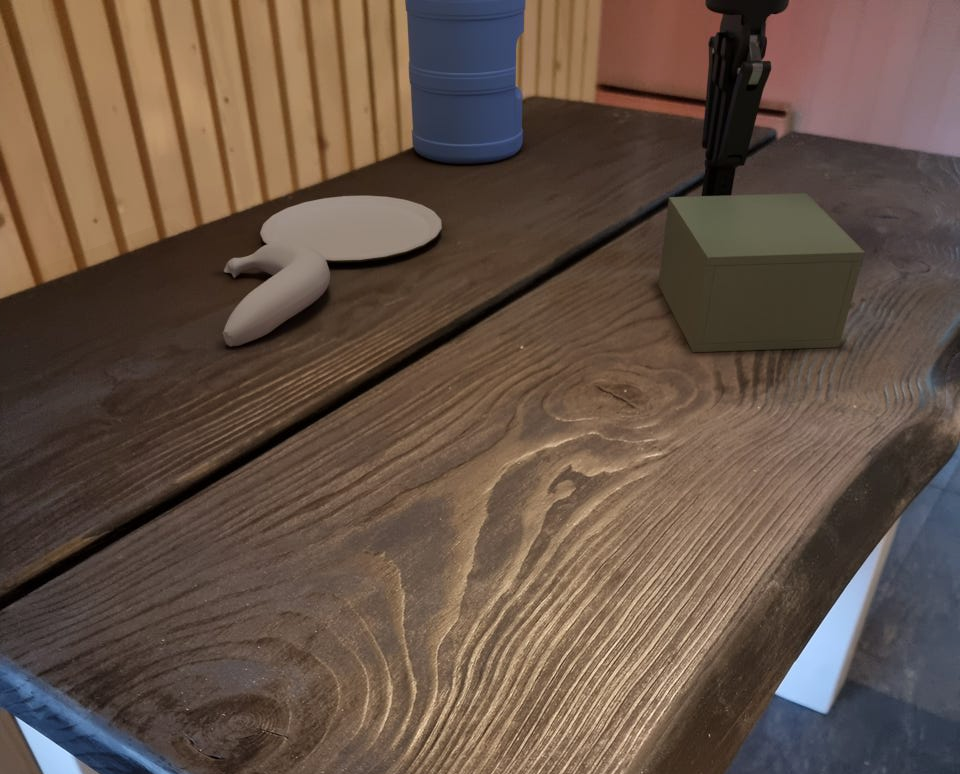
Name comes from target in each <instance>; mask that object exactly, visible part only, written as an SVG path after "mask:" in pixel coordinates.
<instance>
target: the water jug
mask: <svg viewBox="0 0 960 774" xmlns="http://www.w3.org/2000/svg"><path fill="white" fill-rule="evenodd" d="M526 2H527V1H526V0H404V4H405V5H404V6H405V11H406V19H407V20H406V23H407V40H408V42H407V43H408V44H407V45H408V79H409V80H408V81H409V84H410V99H411V118H412V130H411V139H412V141H411V142H412V143H411V144H412V147H413V149H414V151H415V152H416V153H417V154H418V155H420V157H423V158H425V159H427V160H430V161H434V162H438V163H445V164H451V165H452V164H453V165H479V164H480V165H481V164H488V163H489V164H490V163H494V162H498V161H502V160H505V159H508V158H511V157H513V156H514V155H516V154H517V153H518V152H519V151H520V150H521V148H522V146H523V140H524V139H523V138H524V137H523V136H524V130H523V129H524V128H523V92H522V91H521V89H520V88H519V87H518V86H517V84H516V83H517V82H516V81H517V46H518V40H519V38H520V36H521V35H522V34H524V32H525V10H526Z"/></svg>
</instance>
